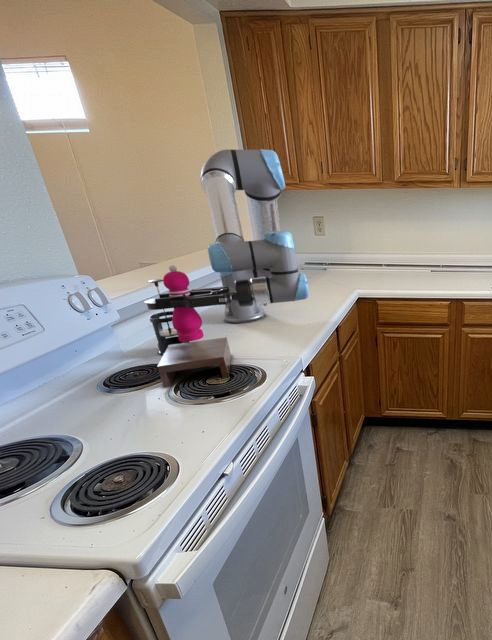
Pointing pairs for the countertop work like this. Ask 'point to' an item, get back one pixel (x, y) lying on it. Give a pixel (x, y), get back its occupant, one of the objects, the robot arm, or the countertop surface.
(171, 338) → the french press
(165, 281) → the pepper mill
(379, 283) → the countertop surface
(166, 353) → the shelf
